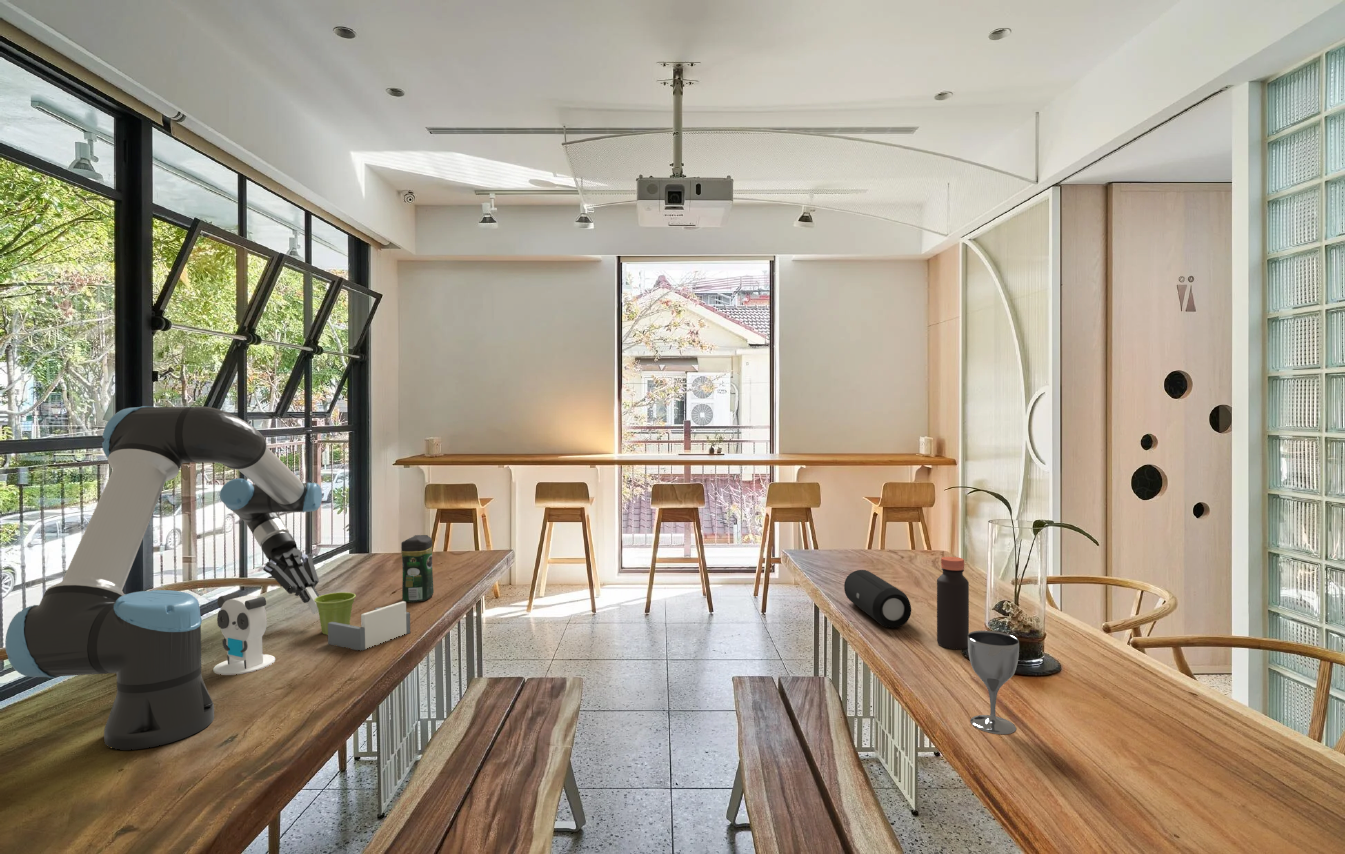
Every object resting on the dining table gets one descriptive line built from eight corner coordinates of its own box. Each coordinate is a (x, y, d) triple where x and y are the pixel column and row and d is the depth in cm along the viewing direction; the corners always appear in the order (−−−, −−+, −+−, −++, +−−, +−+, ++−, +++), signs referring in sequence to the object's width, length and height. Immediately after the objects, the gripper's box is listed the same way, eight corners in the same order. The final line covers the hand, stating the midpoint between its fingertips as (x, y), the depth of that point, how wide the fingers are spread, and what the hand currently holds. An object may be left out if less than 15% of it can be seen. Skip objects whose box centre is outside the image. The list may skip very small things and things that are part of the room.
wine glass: (975, 710, 121) (975, 627, 121) (1023, 722, 116) (1023, 636, 116) (961, 726, 115) (961, 639, 115) (1012, 740, 110) (1012, 649, 110)
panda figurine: (200, 669, 144) (198, 599, 144) (252, 652, 155) (251, 587, 154) (234, 678, 139) (232, 606, 139) (286, 660, 149) (285, 593, 149)
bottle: (969, 642, 157) (969, 557, 157) (968, 651, 151) (968, 563, 151) (937, 638, 160) (937, 554, 160) (936, 647, 154) (935, 560, 154)
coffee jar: (410, 594, 204) (409, 533, 204) (436, 594, 204) (435, 533, 204) (398, 603, 194) (397, 539, 194) (425, 602, 195) (424, 538, 194)
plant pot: (363, 626, 174) (363, 592, 173) (342, 638, 164) (341, 602, 164) (329, 625, 174) (329, 591, 174) (306, 637, 165) (305, 601, 165)
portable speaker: (841, 603, 191) (841, 568, 191) (875, 601, 192) (875, 567, 192) (876, 631, 166) (876, 591, 166) (915, 630, 167) (915, 590, 167)
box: (360, 650, 155) (360, 616, 155) (328, 644, 160) (327, 610, 160) (410, 632, 168) (409, 600, 168) (378, 626, 173) (378, 595, 173)
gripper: (292, 545, 187) (333, 612, 180) (244, 553, 175) (287, 626, 168) (304, 527, 184) (347, 594, 177) (257, 535, 173) (301, 607, 166)
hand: (318, 610), depth 173 cm, fingers closed
